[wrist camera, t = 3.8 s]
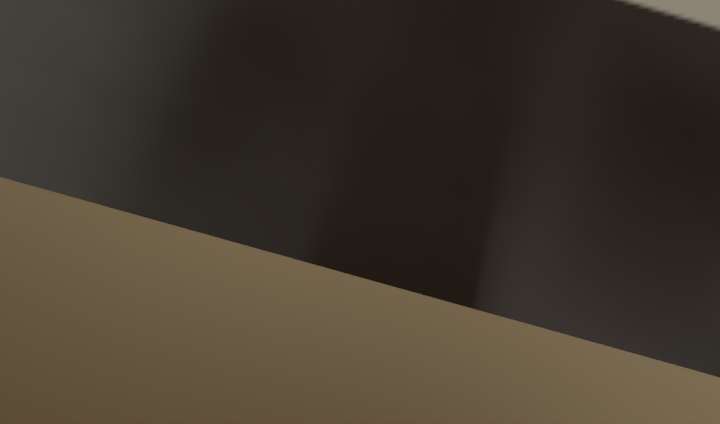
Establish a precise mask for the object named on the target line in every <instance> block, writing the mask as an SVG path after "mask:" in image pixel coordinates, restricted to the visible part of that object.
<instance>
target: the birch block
mask: <svg viewBox="0 0 720 424" xmlns="http://www.w3.org/2000/svg"><path fill="white" fill-rule="evenodd" d="M0 424H720V377H716V376H713V375H709V374H705V373H702V372H698V371H695V370H691V369H687V368H684V367H680V366H677V365H673V364H669V363H666V362H662V361H659V360H655V359H652V358H648V357H644V356H641V355H637V354H634V353H630V352H626V351H623V350H619V349H616V348H612V347H608V346H605V345H601V344H598V343H594V342H590V341H587V340H583V339H580V338H576V337H573V336H569V335H565V334H562V333H558V332H555V331H551V330H547V329H544V328H540V327H537V326H533V325H529V324H526V323H522V322H519V321H515V320H512V319H508V318H504V317H501V316H497V315H494V314H490V313H486V312H483V311H479V310H476V309H472V308H468V307H465V306H461V305H458V304H454V303H450V302H447V301H443V300H440V299H436V298H433V297H429V296H425V295H422V294H418V293H415V292H411V291H407V290H404V289H400V288H397V287H393V286H389V285H386V284H382V283H379V282H375V281H372V280H368V279H364V278H361V277H357V276H354V275H350V274H346V273H343V272H339V271H336V270H332V269H328V268H325V267H321V266H318V265H314V264H310V263H307V262H303V261H300V260H296V259H293V258H289V257H285V256H282V255H278V254H275V253H271V252H267V251H264V250H260V249H257V248H253V247H249V246H246V245H242V244H239V243H235V242H231V241H228V240H224V239H221V238H217V237H214V236H210V235H206V234H203V233H199V232H196V231H192V230H188V229H185V228H181V227H178V226H174V225H170V224H167V223H163V222H160V221H156V220H153V219H149V218H145V217H142V216H138V215H135V214H131V213H127V212H124V211H120V210H117V209H113V208H109V207H106V206H102V205H99V204H95V203H91V202H88V201H84V200H81V199H77V198H74V197H70V196H66V195H63V194H59V193H56V192H52V191H48V190H45V189H41V188H38V187H34V186H30V185H27V184H23V183H20V182H16V181H13V180H9V179H5V178H2V177H0Z"/></svg>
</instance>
